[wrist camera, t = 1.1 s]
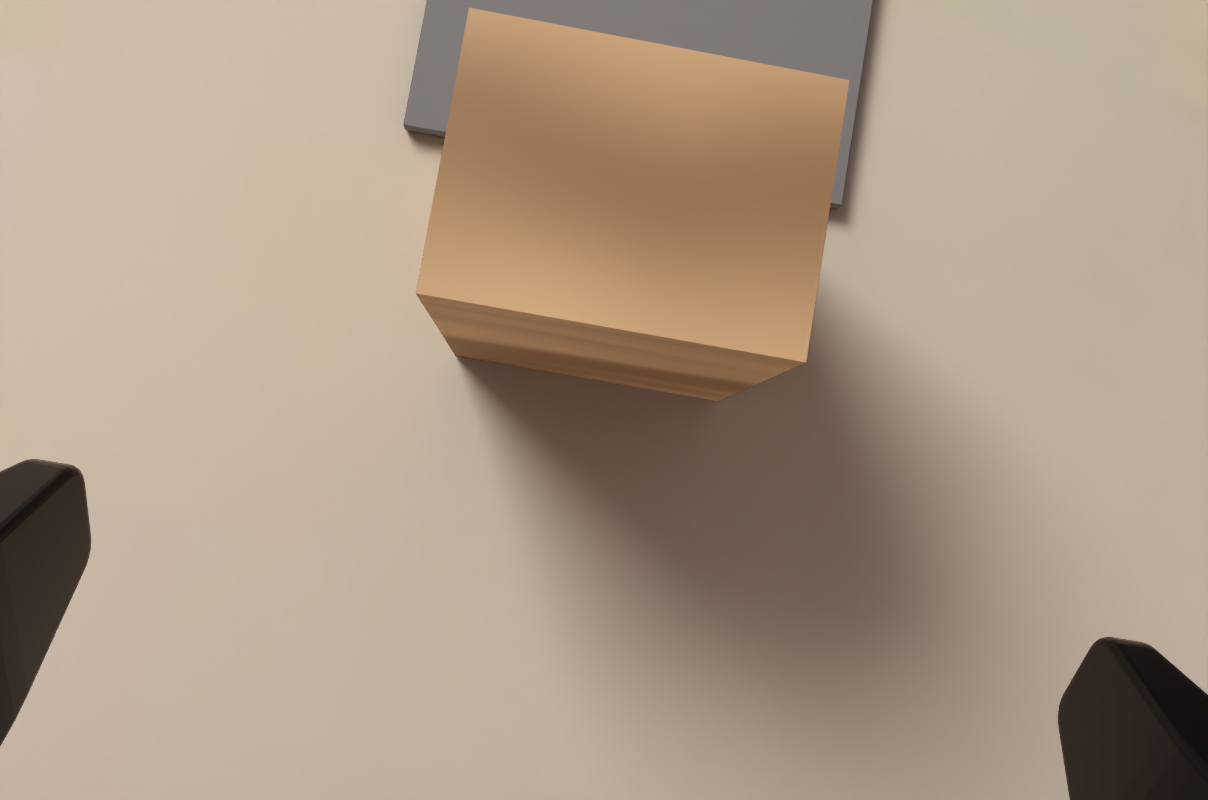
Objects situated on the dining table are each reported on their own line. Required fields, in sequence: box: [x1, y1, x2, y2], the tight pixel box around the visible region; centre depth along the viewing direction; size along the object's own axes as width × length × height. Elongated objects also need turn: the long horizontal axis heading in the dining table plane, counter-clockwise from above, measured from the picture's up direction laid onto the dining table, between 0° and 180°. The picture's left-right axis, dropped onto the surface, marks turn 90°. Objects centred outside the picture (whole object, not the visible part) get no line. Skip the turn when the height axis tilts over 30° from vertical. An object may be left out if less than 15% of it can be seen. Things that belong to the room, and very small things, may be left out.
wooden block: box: [416, 8, 849, 401], centre depth 20 cm, size 4×6×8 cm
